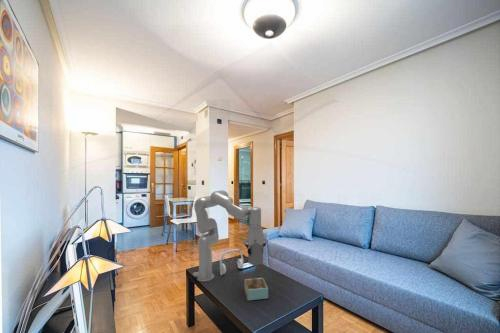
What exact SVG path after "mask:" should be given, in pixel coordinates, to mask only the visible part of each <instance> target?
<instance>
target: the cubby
mask: <svg viewBox="0 0 500 333" xmlns="http://www.w3.org/2000/svg"><path fill="white" fill-rule="evenodd" d="M243 282H244V284H243V286H244V293H245V298H246V299H247V290H250V289H259V288H268V289H269V287H268V285H267V283H266V280H265V278H264V277H255V278H245V279H244V281H243Z"/></svg>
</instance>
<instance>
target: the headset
mask: <svg viewBox="0 0 500 333" xmlns="http://www.w3.org/2000/svg"><path fill="white" fill-rule="evenodd" d="M235 252H239V253H240V256H241V257H240V258H238V259H237V262H236V264H237V267H238V269H241V268H242V269H241V270H243V269H244V256H243V253H242V251H241V249H239V248H233V249H232V248H231V249H229V250H226V251H224V252H223V253H222V255H221V257H220V259H219V273H220V274H219V275H220V276H223V275H224V274H227V273H226V272H227V267H226V264H225V263H223V259H224V256H225V255H227V254H232V253H235Z"/></svg>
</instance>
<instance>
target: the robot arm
mask: <svg viewBox="0 0 500 333" xmlns="http://www.w3.org/2000/svg"><path fill="white" fill-rule="evenodd" d="M233 203H234V199H233V198H232V197H231V196H229V193H228V192H227V191H226V190H223V189H222V190H215V191H213V192H212V193H211V194H210V195H208V196H203V197H198V199H196V200H195V202H194V212H195V216H196V224H197V231H198V232H199V233H200V234H202V235H201V236H199V237H198V239H197V247H198V248H197V249H198V271H197V272H192V276H193V277H196V280H197V281H199V282H202V283H206V282H210V281H212V280H213V279H214V278H215V274H214V273H213V254H212V253H213V252H212V249H211V247H212V246H214V245H216V244H217V243H218V242H219V239H220V237H219V230H218V229H219V228H218V223H217V221H216V219H214V218H213V217H209V214H208V212H207V210H206V209H208V208H213V207H216V206H220V207H222V208H223V209H225V211H226V212H227V214H228V215H230V216H232V218H235V219H237V220H243V219H246V218H249V224H247V228H248V229H247V238H246V239H244V241H243V242H242V244H243V245H244V246H245V248H247V254H248V253H249V255H250V247H251V245H253V243H259V245H262V244H263V248H262V254H263V255H264V248H265V247H266V246H267V244H268V243H269V241H268V240H267V239H266V238H264V229H263V228H262V209H261V207H259V206H251V205H244V206H237V205H236V204H233ZM254 240H256V242H254Z"/></svg>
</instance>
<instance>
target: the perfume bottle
mask: <svg viewBox="0 0 500 333" xmlns="http://www.w3.org/2000/svg"><path fill="white" fill-rule="evenodd" d="M254 242H256V240H254ZM262 248H263V244H262V245H259V243H253V245H251V247H250V255H249V253H248V252H247V257H248V258H247V261H248V264H250V265H252V266H254V267H257V266H259V265H261V264H263V263H264V253H263V254H262ZM263 249H264V248H263Z"/></svg>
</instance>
